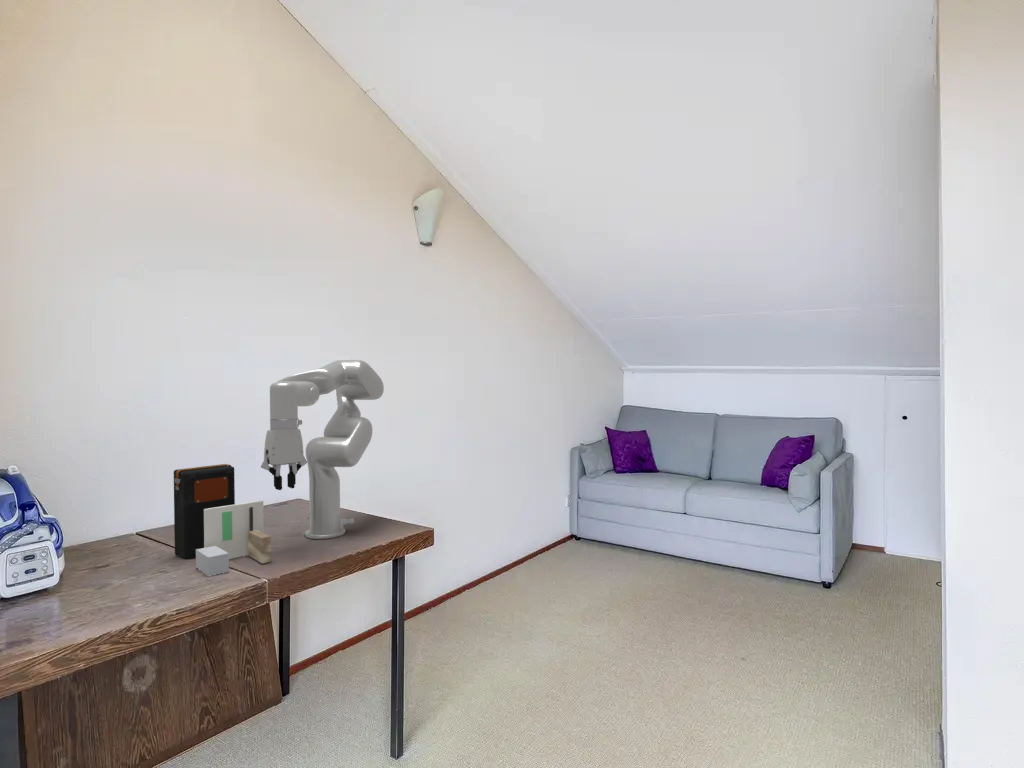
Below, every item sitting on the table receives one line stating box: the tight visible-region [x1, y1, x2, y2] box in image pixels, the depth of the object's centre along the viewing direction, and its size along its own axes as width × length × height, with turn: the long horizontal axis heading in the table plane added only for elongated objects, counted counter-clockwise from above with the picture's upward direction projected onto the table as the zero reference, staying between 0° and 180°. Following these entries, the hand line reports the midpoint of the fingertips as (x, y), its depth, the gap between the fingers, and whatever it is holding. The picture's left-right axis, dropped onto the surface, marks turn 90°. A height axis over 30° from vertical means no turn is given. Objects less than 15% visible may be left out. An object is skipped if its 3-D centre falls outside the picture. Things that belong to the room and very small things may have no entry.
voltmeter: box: [173, 463, 236, 559], centre depth 177 cm, size 16×9×25 cm, turn 141°
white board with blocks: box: [195, 500, 265, 577], centre depth 166 cm, size 19×13×15 cm
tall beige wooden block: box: [247, 507, 272, 565], centre depth 169 cm, size 2×11×14 cm, turn 44°
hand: (284, 488), depth 174 cm, fingers open, 3 cm apart
